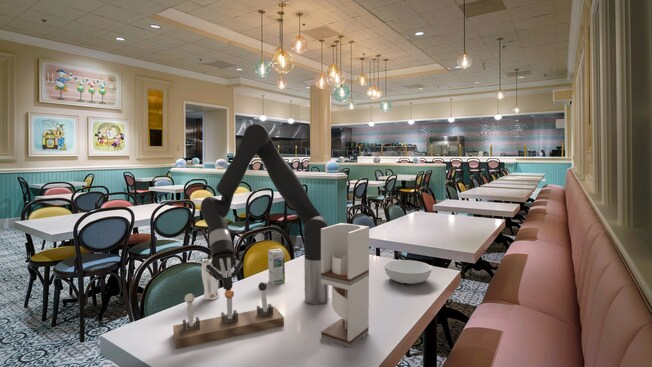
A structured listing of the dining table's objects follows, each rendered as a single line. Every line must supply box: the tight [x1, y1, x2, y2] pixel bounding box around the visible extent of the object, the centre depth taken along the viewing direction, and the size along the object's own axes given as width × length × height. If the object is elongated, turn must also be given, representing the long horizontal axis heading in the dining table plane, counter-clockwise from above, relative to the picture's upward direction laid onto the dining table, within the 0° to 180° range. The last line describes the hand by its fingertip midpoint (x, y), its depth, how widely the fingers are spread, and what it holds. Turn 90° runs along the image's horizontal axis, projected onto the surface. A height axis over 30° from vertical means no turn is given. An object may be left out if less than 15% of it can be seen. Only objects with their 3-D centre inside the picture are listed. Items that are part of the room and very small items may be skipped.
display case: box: [320, 222, 370, 349], centre depth 120 cm, size 11×11×35 cm
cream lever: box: [184, 293, 196, 329], centre depth 121 cm, size 3×3×11 cm
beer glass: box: [201, 258, 220, 301], centre depth 153 cm, size 7×7×15 cm
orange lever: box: [224, 288, 235, 321], centre depth 125 cm, size 3×3×11 cm
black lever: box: [257, 281, 269, 314], centre depth 131 cm, size 3×3×11 cm
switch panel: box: [172, 303, 285, 350], centre depth 125 cm, size 34×10×6 cm, turn 116°
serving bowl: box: [384, 259, 433, 285], centre depth 172 cm, size 21×21×7 cm
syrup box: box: [267, 248, 286, 285], centre depth 171 cm, size 6×6×14 cm
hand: (228, 289), depth 125 cm, fingers closed
